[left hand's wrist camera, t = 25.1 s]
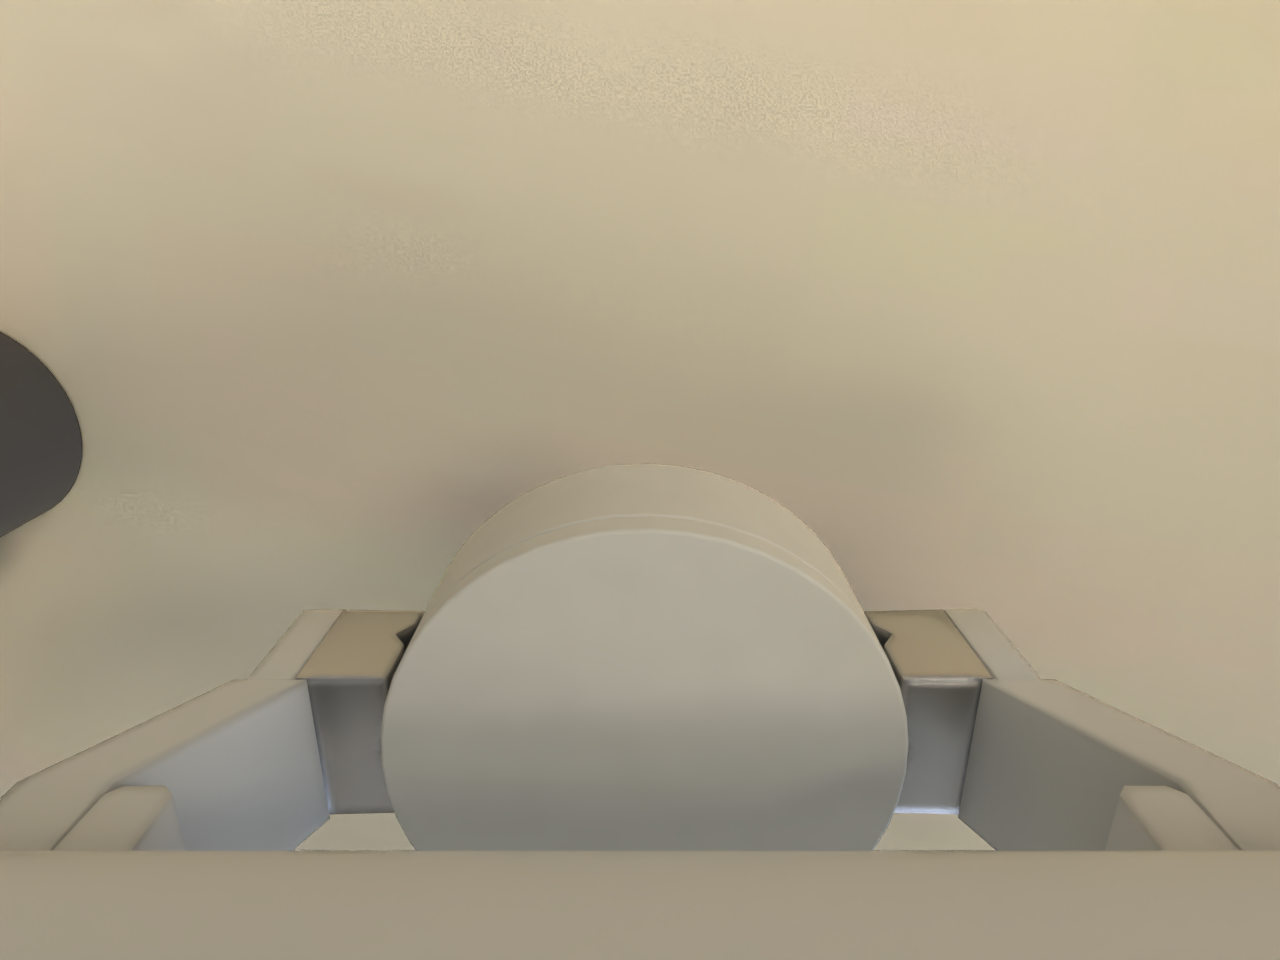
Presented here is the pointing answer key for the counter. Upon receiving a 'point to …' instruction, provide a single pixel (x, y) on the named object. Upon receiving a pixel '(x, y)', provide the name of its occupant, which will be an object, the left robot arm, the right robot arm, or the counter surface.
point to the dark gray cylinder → (33, 438)
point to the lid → (644, 680)
